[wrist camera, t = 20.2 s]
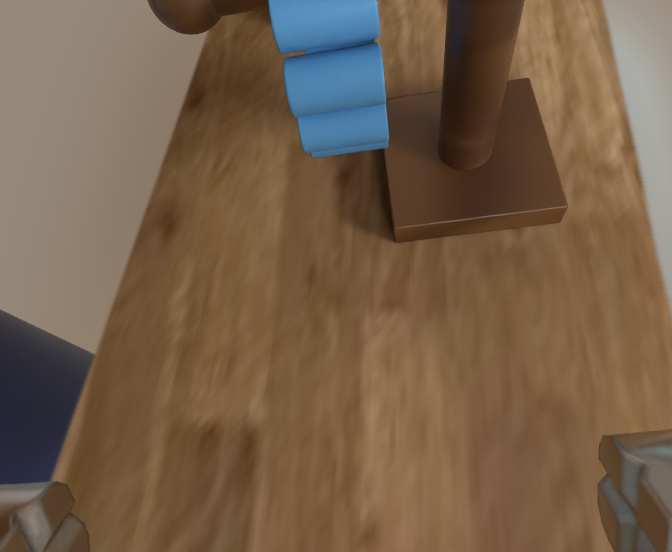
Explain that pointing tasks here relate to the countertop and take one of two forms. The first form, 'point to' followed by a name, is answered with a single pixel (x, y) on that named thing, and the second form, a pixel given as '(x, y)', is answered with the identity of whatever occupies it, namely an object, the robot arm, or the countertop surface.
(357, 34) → the blue cylinder bundle
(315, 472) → the countertop surface
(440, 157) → the tape stand
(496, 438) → the countertop surface
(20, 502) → the robot arm
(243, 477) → the countertop surface
